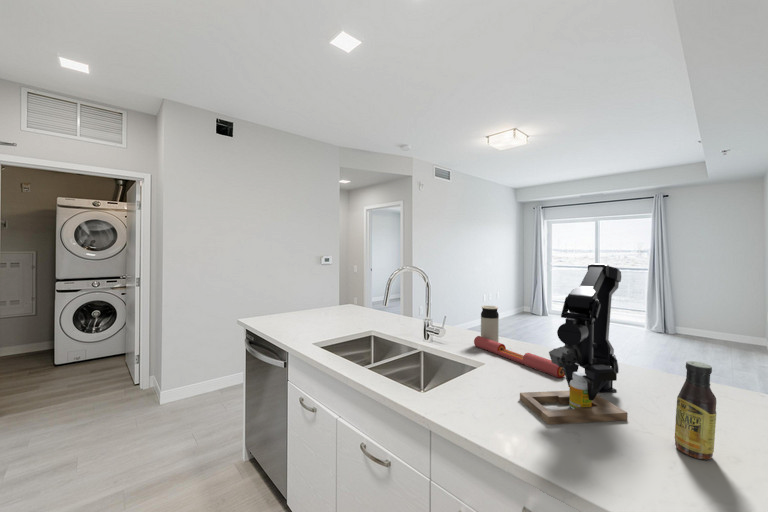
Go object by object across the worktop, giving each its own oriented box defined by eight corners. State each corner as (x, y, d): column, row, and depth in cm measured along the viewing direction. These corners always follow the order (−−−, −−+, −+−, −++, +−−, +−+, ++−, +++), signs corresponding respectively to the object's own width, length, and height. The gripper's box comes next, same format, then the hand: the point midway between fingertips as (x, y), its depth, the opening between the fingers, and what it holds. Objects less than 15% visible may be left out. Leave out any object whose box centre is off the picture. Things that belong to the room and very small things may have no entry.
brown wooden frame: (588, 396, 98) (588, 389, 98) (627, 420, 84) (627, 412, 84) (519, 399, 96) (519, 392, 96) (548, 424, 82) (548, 416, 82)
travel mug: (500, 347, 148) (501, 308, 148) (483, 347, 148) (483, 308, 148) (495, 342, 156) (495, 305, 156) (478, 342, 156) (479, 305, 156)
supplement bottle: (584, 415, 87) (584, 379, 87) (565, 406, 92) (565, 372, 91) (595, 410, 89) (596, 376, 89) (576, 402, 94) (577, 369, 94)
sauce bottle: (666, 444, 74) (668, 358, 73) (691, 443, 74) (693, 357, 74) (697, 463, 67) (698, 369, 67) (724, 462, 68) (726, 368, 67)
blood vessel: (473, 347, 149) (473, 336, 149) (481, 345, 151) (481, 335, 151) (556, 379, 111) (557, 365, 111) (566, 377, 114) (566, 363, 114)
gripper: (535, 330, 98) (534, 381, 99) (577, 349, 80) (577, 411, 80) (569, 329, 100) (568, 379, 100) (618, 348, 81) (618, 409, 81)
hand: (580, 393), depth 90 cm, fingers open, 8 cm apart
